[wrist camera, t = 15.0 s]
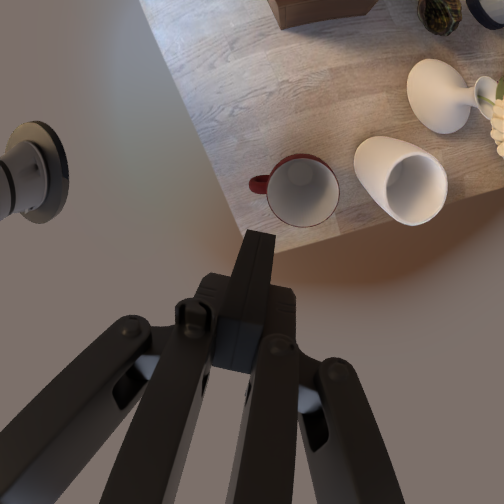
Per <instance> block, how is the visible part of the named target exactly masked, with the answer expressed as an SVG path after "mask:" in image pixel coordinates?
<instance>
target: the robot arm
mask: <svg viewBox="0 0 504 504" xmlns="http://www.w3.org/2000/svg"><path fill="white" fill-rule="evenodd" d="M49 188H50V174H49V168H48V163H47V160H46V158H45V155H44V153H43V151H42V150H41V148H40V147H39V146H38V145H37V144H36V143H35V142H33V141H29V140H26V141H22V142H19V143H17V144H16V145H14V146H13V147H12V148H11V149H10V150H9V151H7V152H6V153H5V154H4V155H3V156H1V157H0V221H1V220H2V219H4V218H6V217H7V216H8V215H10V214H12V213H18V212H25V214H26V213H27V212H29V211H32V210H35V209H37V208H38V207H40V206H41V205H43V204H44V202H45V201H46V199H47V196H48V193H49ZM275 239H276V235H272V234H268V233H263V232H258V231H253V230H248V229H247V231H246V234H245V237H244V240H243V243H242V246H241V249H240V251H239V254H238V257H237V260H236V263H235V266H234V269H233V272H232V275H231V277H229V276H224V275H220V274H216V273H209V274H208V275H206V276H205V277H204V278H203V279H202V281H201V283H200V285H199V287H198V289H197V291H196V294H195V295H194V297H193V298H187V299H184V300H182V301H180V302H179V303H178V304H177V305H176V306H175V325H171V326H165V327H157V326H155V327H154V326H150V324H149V322H148V321H147V320H146V319H145V318H143V317H141V316H138V315H127V316H123V317H121V318H120V319H118V320H117V321H116V322H115V323H113V324H112V325H111V326H110V327H109V328H108V329H107V330H106V331H104V332H103V333H102V334H101V335H100V336H99V337H98V338H97V339H96V340H95V341H93V343H91V344H90V345H89V346H88V347H87V348H86V349H85V350H84V351H83V352H82V353H80V355H78V356H77V357H76V358H75V359H74V360H73V361H72V362H71V363H70V364H69V365H68V366H67V367H66V368H64V369H63V370H62V372H60V373H59V374H58V375H57V376H56V377H55V378H54V379H53V380H52V381H51V382H50V383H49V384H48V385H47V386H46V387H45V388H44V389H43V390H42V391H41V392H40V393H39V394H38V395H37V396H36V397H35V398H34V399H33V400H32V401H31V402H30V403H29V404H28V405H27V406H26V407H25V408H24V409H23V410H22V411H21V412H20V413H19V414H18V415H17V416H16V417H15V418H14V419H13V420H12V421H11V422H10V423H9V424H8V425H7V426H6V427H5V428H4V429H3V430H2V431H1V432H0V504H54V503H55V502H56V501H57V499H58V498H59V497H60V495H62V493H63V492H64V491H65V490H66V489H67V487H68V486H69V485H70V483H71V482H72V481H73V480H74V479H75V478H76V476H77V475H78V474H79V473H80V472H81V470H82V469H83V468H84V467H85V466H86V464H87V463H88V462H89V461H90V459H91V458H92V457H93V456H94V455H95V453H96V452H97V451H98V450H99V449H100V447H101V446H102V445H103V444H104V442H105V441H106V440H107V439H108V438H109V436H110V435H111V434H112V433H113V432H114V430H115V429H116V428H117V427H118V425H119V424H120V423H121V422H122V421H123V419H124V418H125V417H126V416H127V414H128V413H129V412H130V411H131V409H132V408H133V407H134V406H135V405H136V403H137V402H138V401H139V400H140V398H141V397H142V398H141V401H140V403H139V405H138V408H137V410H136V412H135V415H134V417H133V419H132V422H131V424H130V426H129V429H128V431H127V434H126V436H125V439H124V441H123V443H122V446H121V448H120V451H119V453H118V455H117V458H116V461H115V463H114V466H113V468H112V471H111V473H110V476H109V478H108V481H107V484H106V486H105V489H104V491H103V494H102V497H101V500H100V502H99V504H174V501H175V497H176V493H177V490H178V486H179V483H180V479H181V475H182V472H183V468H184V465H185V461H186V458H187V454H188V450H189V447H190V443H191V440H192V436H193V433H194V429H195V426H196V422H197V419H198V415H199V411H200V408H201V405H202V401H203V398H204V394H205V391H206V387H207V384H208V380H209V374H210V368H211V365H212V366H214V367H219V368H223V369H227V370H232V371H237V372H241V373H247V374H251V376H250V380H249V383H248V387H247V390H246V393H245V396H246V398H245V403H244V409H243V414H242V420H241V425H240V431H239V436H238V442H237V447H236V452H235V458H234V462H233V468H232V472H231V478H230V483H229V487H228V493H227V497H226V502H225V504H292V494H293V483H294V470H295V456H296V440H297V420H298V422H299V426H300V430H301V434H302V439H303V443H304V448H305V452H306V456H307V461H308V464H309V469H310V474H311V478H312V482H313V486H314V491H315V495H316V500H317V504H405V502H404V499H403V496H402V492H401V489H400V487H399V483H398V480H397V478H396V475H395V472H394V469H393V466H392V463H391V461H390V458H389V455H388V452H387V449H386V447H385V444H384V441H383V439H382V436H381V433H380V431H379V428H378V425H377V423H376V421H375V418H374V415H373V413H372V410H371V408H370V405H369V403H368V400H367V398H366V395H365V393H364V390H363V388H362V386H361V383H360V381H359V378H358V376H357V373H356V372H355V369H354V368H353V366H352V365H351V364H350V363H348V362H347V361H346V360H343V359H341V358H336V357H331V358H327V359H325V360H324V361H323V362H320V361H317V360H315V359H313V358H310V357H308V356H307V355H305V354H304V353H303V352H302V351H301V350H300V349H299V347H298V345H297V343H296V296H295V294H294V293H293V291H292V289H291V288H286V287H281V286H276V285H271V284H270V281H271V272H272V264H273V256H274V248H275Z"/></svg>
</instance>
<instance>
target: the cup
mask: <svg viewBox="0 0 504 504" xmlns="http://www.w3.org/2000/svg"><path fill="white" fill-rule="evenodd" d="M353 163H354V170H355V173H356V176H357V178H358V180H359V181H360V183H361V184H362V185H363V187H364V188H365V189H366V191H367V192H368V193H369V194H370V196H371V197H372V198H373V199H374V201H375V202H376V203H377V204H378V205H379V206H380V207H381V208H382V209H384V210H385V211H386V212H387V213H388V214H389V215H390V216H392V217H393V218H394V219H395V220H396V221H398V222H401V223H403V224H406V225H411V226H414V225H419V224H423V223H425V222H427V221H429V220H431V219H432V218H433V217H434V216H435V215H436V214H437V213H438V212H439V211H440V210H441V209H442V207H443V204H444V202H445V200H446V195H447V191H448V181H447V176H446V172H445V170H444V168H443V166H442V164H441V163H440V162H439V161H438V160H437V158H436V157H434V156H433V155H431V154H430V153H428V152H426V151H425V150H423V149H421V148H420V147H418V146H416V145H414V144H411V143H409V142H406V141H402V140H399V139H395V138H391V137H386V136H374V137H371V138H368V139H366V140H365V141H364V142H362V143H361V144H360V145H359V147H358V148H357V149H356V152H355V155H354V162H353Z"/></svg>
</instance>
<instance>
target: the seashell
mask: <svg viewBox="0 0 504 504" xmlns="http://www.w3.org/2000/svg"><path fill="white" fill-rule="evenodd" d="M418 17H419V19H420V21H422V23H423V24H424V26H425V28H426V29H428V31H430V32H432V33H434V34H435V35H440V36H448V35H450V33H451V32H453V31H454V30H456V28H457V27H458V24H459V22H460V21H461V20H462V14H461V3H460V1H459V0H419V6H418Z"/></svg>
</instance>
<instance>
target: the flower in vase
mask: <svg viewBox="0 0 504 504" xmlns="http://www.w3.org/2000/svg"><path fill="white" fill-rule="evenodd" d="M503 77H504V76H503ZM503 77H502V78H501V79H500V80H499V82H498V84H497V83H496V81H494V80H493V79H492V78H490V77H488V76H482V77H480V78H479V79H478V80H477V81H476V83H475V86H473V87H469V88H468V87H467V85H466V83H465V81H464V79H463V78H462V76H461V75H460V74H459V73H458V72H457V71H456V70H455V69H454V68H453V67H452V66H450V65H449V64H447V63H445V62H443V61H440V60H437V59H425V60H422V61H420V62H418V63H417V64H416V65H415V66H414V67H413V68H412V69H411V71H410V73H409V76H408V80H407V95H408V99H409V103H410V105H411V108H412V110H413V112H414V114H415V115H416V117H417V118H418V119H419V120H420V122H421V123H422V124H423V125H425V126H426V127H427V128H429V129H430V130H432V131H434V132H437V133H441V134H449V133H453V132H455V131H457V130H459V129H460V128H461V127H463V125H464V124H465V123H466V121H467V120H468V117H469V114H470V110H471V106H473V107H476V108H478V109H479V110H480V112H481V113H482V114H483V115H484V116H485V117H486V118H487V119H489V120H491V125H492V131H491V137H492V138H493V139H494V140H495V143H496V144H497V145H498V147H497V153H498V154H499V155H500V156H502V157H503V159H504V81H503Z"/></svg>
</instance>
